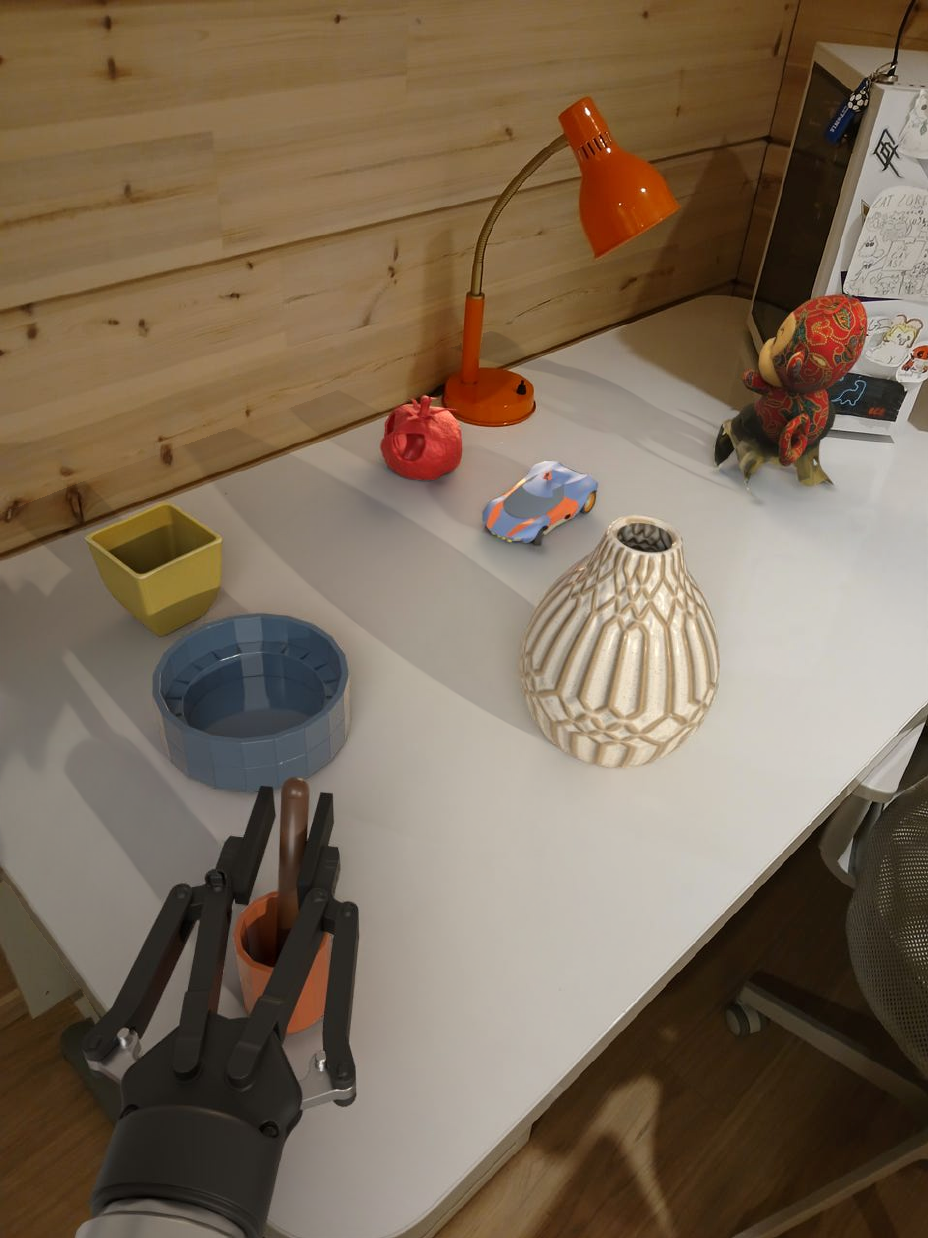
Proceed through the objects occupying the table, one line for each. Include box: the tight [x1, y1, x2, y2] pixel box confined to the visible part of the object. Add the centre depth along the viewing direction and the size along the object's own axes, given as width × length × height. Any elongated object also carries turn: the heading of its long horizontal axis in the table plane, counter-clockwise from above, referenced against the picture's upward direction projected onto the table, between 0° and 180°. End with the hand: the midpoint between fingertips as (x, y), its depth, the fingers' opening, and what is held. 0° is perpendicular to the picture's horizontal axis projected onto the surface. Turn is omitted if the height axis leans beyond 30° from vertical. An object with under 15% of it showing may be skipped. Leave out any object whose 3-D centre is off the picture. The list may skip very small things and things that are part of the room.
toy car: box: [482, 460, 599, 547], centre depth 106 cm, size 8×15×5 cm, turn 142°
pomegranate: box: [379, 394, 463, 481], centre depth 112 cm, size 10×10×9 cm
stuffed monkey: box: [712, 293, 868, 498], centre depth 108 cm, size 15×17×25 cm
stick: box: [275, 777, 311, 965], centre depth 58 cm, size 2×2×16 cm
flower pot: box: [84, 500, 223, 637], centre depth 88 cm, size 9×9×9 cm
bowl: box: [151, 612, 351, 793], centre depth 78 cm, size 15×15×6 cm
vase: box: [518, 514, 721, 769], centre depth 76 cm, size 16×16×20 cm
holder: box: [232, 890, 332, 1035], centre depth 60 cm, size 6×6×7 cm
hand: (297, 804), depth 59 cm, fingers open, 3 cm apart
